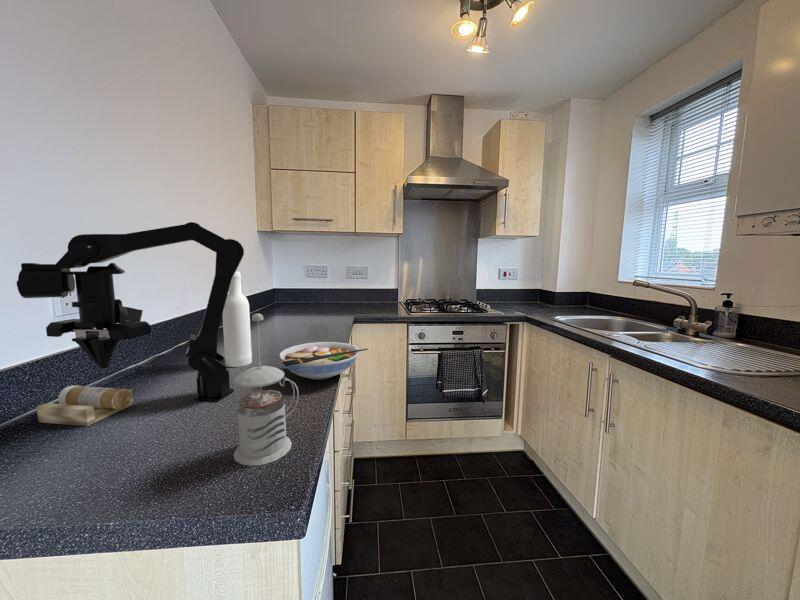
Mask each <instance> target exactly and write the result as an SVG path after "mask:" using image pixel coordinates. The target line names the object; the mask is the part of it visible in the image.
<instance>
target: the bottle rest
mask: <svg viewBox="0 0 800 600" xmlns="http://www.w3.org/2000/svg"><path fill="white" fill-rule="evenodd" d="M128 390H129V391H130V393H131V399H130V402H129V404H128V405H127V406H126V407H125V408H123V409H120V410H115V409H102V408H94V406H79V405H65V404H60V403H47V402H45V403H42V404H38V405H37V406H36V412H37V420H38V423H43V424H56V425H57V424H59V425H69V426H83V427H88V426H91V425H93V424H95V423H97V422H99V421H102V420H103V419H106V418H108V417H110V416H112V415H115V414H116V413H118V412H119V411H122V410H124V409H126V408H129V407H130V406H133V405H134V400H133V397H134V396H133V390H132V389H128Z"/></svg>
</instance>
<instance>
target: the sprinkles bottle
mask: <svg viewBox="0 0 800 600" xmlns="http://www.w3.org/2000/svg"><path fill="white" fill-rule="evenodd" d="M129 390H130V389H126V388H113V387H99V386H98V387H97V386H90V387H89V386H83V385H69V386H66V387H64V388H63V389H62V390H61V391H60V392H59V394H58V396H57V397H58V398H57V401H58V404H65V405H79V406H94V408H102V409H115V410H120V409H122V410H124V409H126V408H125V407H126V406H127V405H128V404H129V402H130V399H131V393H130V391H129ZM123 408H124V409H123ZM120 411H121V410H120Z"/></svg>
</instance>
